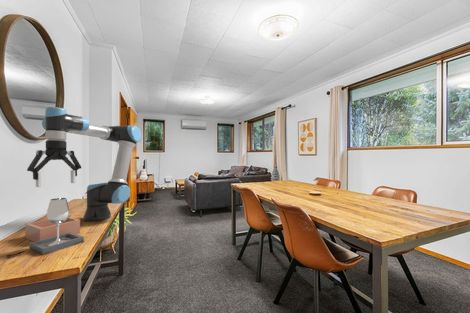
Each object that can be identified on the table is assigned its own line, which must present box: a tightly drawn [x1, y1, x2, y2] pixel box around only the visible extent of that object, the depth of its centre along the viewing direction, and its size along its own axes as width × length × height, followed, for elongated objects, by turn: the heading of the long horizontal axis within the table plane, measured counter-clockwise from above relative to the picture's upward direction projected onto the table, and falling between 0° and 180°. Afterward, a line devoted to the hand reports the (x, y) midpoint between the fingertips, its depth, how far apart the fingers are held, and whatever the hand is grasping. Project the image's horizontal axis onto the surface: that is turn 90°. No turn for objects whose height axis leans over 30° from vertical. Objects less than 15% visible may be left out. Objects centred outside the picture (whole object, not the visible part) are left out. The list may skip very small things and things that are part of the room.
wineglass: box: [46, 197, 70, 246], centre depth 94 cm, size 8×8×20 cm
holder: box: [24, 216, 81, 242], centre depth 106 cm, size 16×16×7 cm
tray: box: [29, 232, 85, 256], centre depth 94 cm, size 15×13×2 cm
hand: (56, 184), depth 99 cm, fingers open, 13 cm apart
